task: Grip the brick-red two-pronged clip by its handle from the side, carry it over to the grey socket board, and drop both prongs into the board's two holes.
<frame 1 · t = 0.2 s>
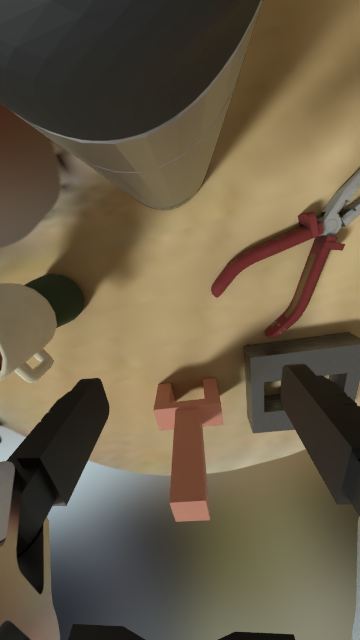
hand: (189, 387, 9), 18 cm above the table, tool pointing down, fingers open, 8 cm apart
clip: (188, 390, 32), on the table
grey socket board: (292, 379, 30), on the table
character mug: (62, 296, 26), on the table
pliers: (297, 264, 24), on the table
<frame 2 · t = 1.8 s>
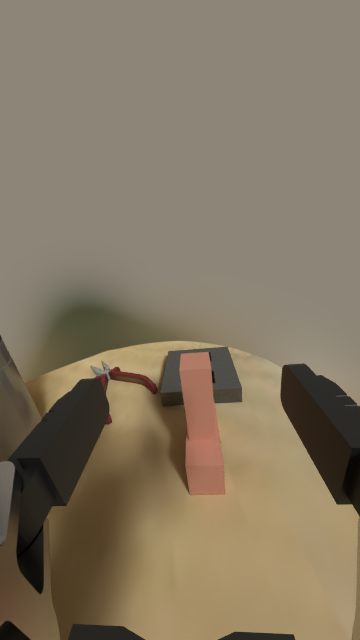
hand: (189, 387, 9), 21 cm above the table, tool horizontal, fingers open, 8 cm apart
clip: (204, 454, 27), on the table
grey socket board: (199, 378, 42), on the table
pliers: (122, 385, 44), on the table
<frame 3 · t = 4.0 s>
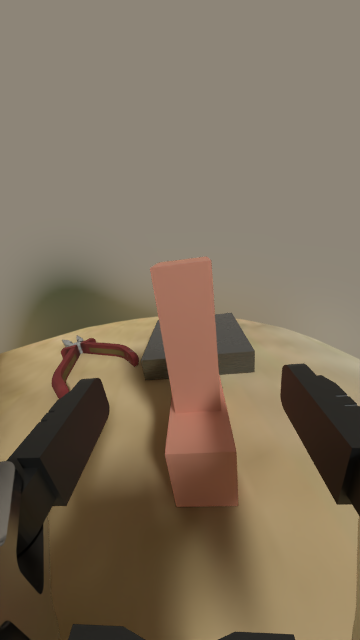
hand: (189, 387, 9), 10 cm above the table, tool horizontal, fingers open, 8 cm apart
clip: (202, 441, 17), on the table
grey socket board: (196, 349, 32), on the table
pliers: (96, 359, 34), on the table
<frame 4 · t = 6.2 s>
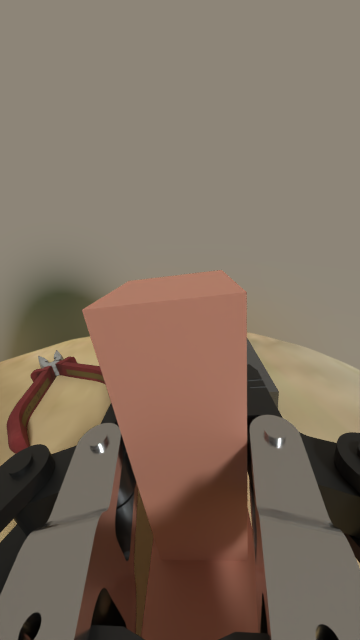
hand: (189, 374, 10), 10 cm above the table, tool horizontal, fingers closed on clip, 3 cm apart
clip: (209, 562, 11), on the table, touching gripper
grey socket board: (198, 375, 25), on the table
pliers: (74, 384, 28), on the table
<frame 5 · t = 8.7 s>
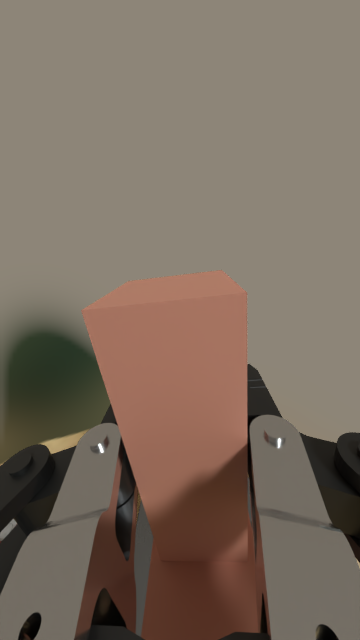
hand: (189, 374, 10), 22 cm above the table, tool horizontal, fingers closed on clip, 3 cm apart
clip: (209, 562, 11), point 12 cm above the table, touching gripper
grey socket board: (214, 593, 17), on the table
when the fingers open (11 cm above the table, at t = 11.2 s): clip drops 1 cm, on the table.
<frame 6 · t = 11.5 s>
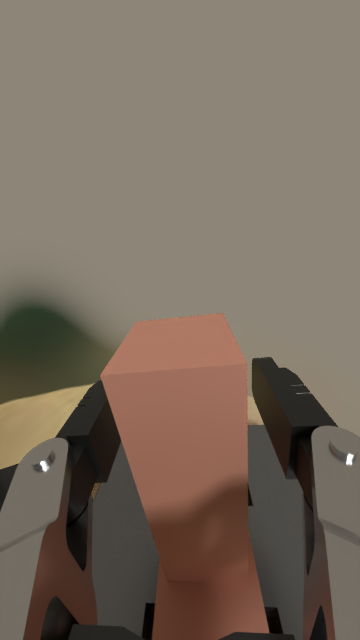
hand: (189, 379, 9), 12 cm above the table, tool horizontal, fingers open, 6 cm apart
clip: (211, 576, 11), on the table
grey socket board: (210, 575, 11), on the table
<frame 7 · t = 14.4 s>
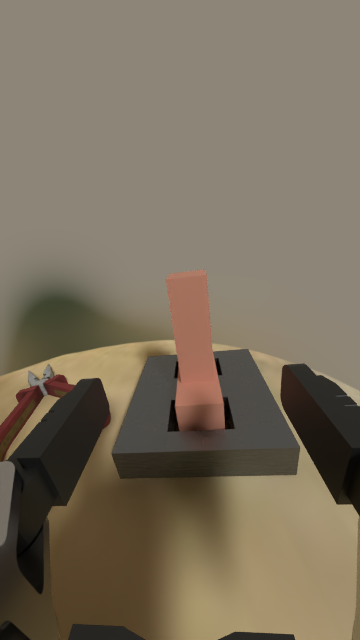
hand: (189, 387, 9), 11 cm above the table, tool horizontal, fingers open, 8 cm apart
clip: (201, 408, 22), on the table
grey socket board: (200, 408, 22), on the table
pliers: (62, 405, 27), on the table
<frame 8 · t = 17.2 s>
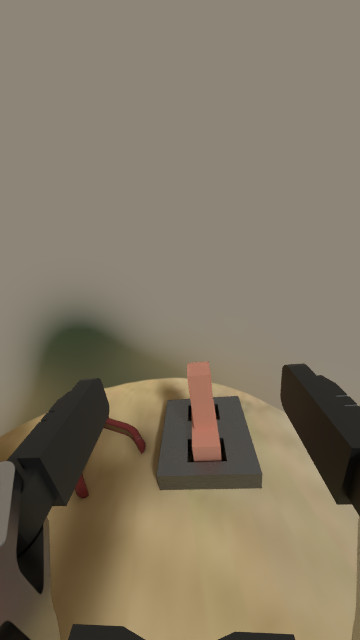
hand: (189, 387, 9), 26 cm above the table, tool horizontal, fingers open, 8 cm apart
clip: (206, 442, 34), on the table
grey socket board: (206, 441, 34), on the table
pliers: (108, 434, 39), on the table
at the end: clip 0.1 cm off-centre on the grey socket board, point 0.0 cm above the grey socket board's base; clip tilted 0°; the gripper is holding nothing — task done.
